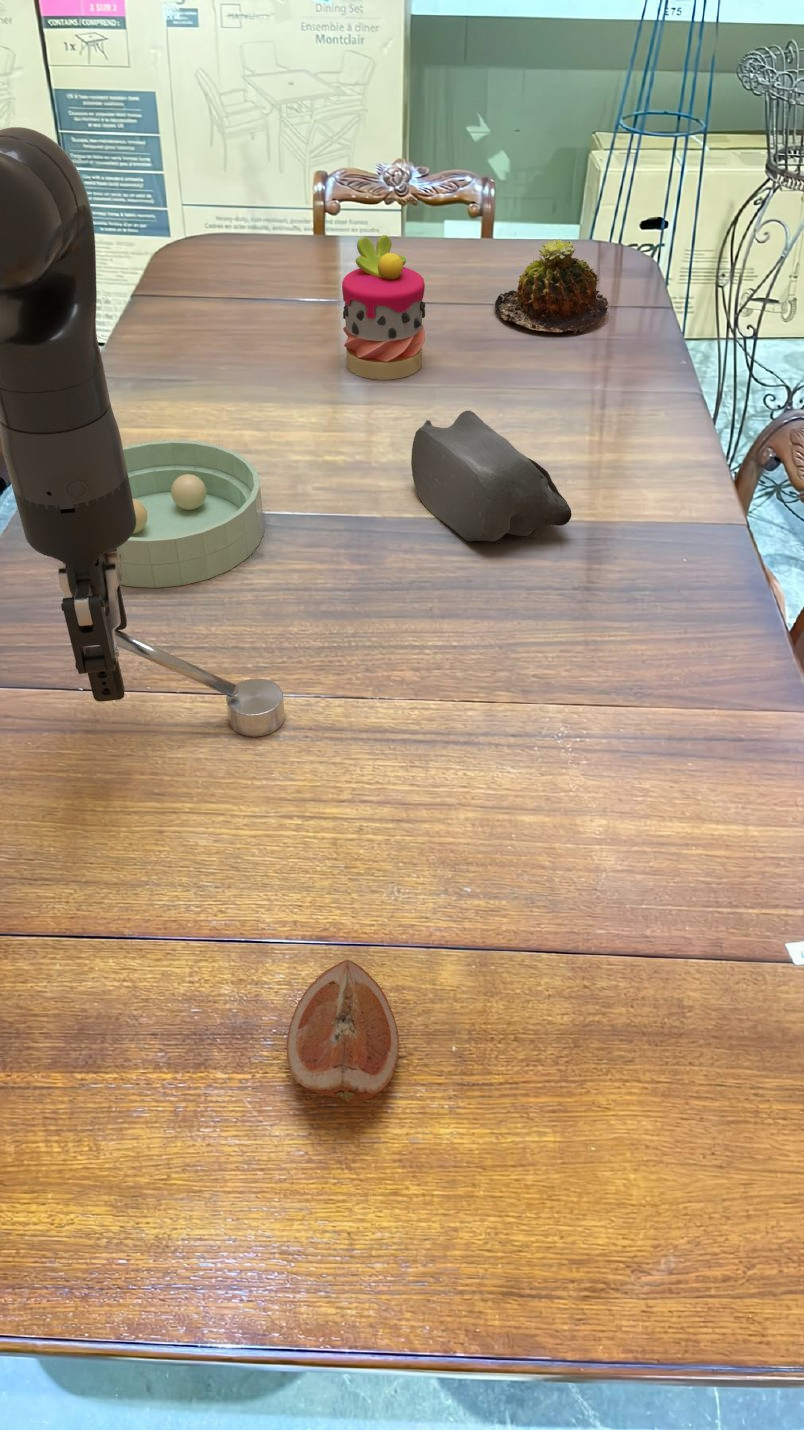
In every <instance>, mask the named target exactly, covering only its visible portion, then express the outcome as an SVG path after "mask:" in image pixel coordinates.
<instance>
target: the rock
mask: <svg viewBox="0 0 804 1430" xmlns="http://www.w3.org/2000/svg"><path fill="white" fill-rule="evenodd" d="M411 446H412V447H411V459H410V460H411V461H410V466H411V474H412V481H413V484H414V488H415V490H416V493H417V495H418V497H419V499H420V501H421V503H422V504H423V506H424V507H426V509H427V510H428V511H429V513H431V514H432V515H433V516H434V517H436V518H437V519H439V520H440V521H441V522H443V523H444V524H445V525H446V526H448V527H449V528H450V529H452V530H454V532H455V533H457V535H459V536H460V537H461V538H462V539H464V540H465V541H466V542H475V541H477V542H478V541H480V542H481V541H487V542H497V541H498V540H500V539H501V538H502V537H504V536H505V535H506V534H509V535H513V536H518V537H524V536H525V537H526V536H527V537H528V536H530V535H531V534H532V533H533V532H534V531H535V530H536V529H539V528H542V527H546V526H555V527H563V526H565V525H567V524H568V523H569V522H570V520H571V519H572V510H571V507H570V505H569V503H568V502H567V500H566V499H565V497H564V496H563V495H562V494H561V492H560V491H559V490H558V488H557V486H556V485H555V482H553V480H552V478H551V475H550V473H549V472H548V471H547V469H545V468H544V467H543V466H541V465H540V464H539V463H538V462H537V461H535V460H533V459H531V458H530V457H528V456H526V455H525V454H523V453H522V452H520V451H519V450H518V449H517V448H516V447H514V445H513V444H512V443H511V442H510V441H509V440H508V439H507V438H505V436H502V435H500V434H499V433H497V431H495V430H494V429H493V428H491V426H489V425H488V424H487V423H486V422H484V421H483V420H482V419H481V418H480V417H479V416H478V414H476V413H475V412H474V411H472V410H464V411H463V412H461V413H459V415H458V416H457V417H456V418H455V420H454V422H453V423H452V424H451V425H449V426H448V427H440V426H434V425H433V424H432V421H431V420H430V419H428V420H427V419H426V420H425V422H424V423H423V425H421V426H420V427H419V428H418V429H417V430H416V431H415V434H414V437H413V440H412V445H411Z"/></svg>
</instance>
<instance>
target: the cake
mask: <svg viewBox="0 0 804 1430" xmlns="http://www.w3.org/2000/svg"><path fill="white" fill-rule="evenodd" d="M392 245H393V243H392V240H391V238H390V237H389V236H388V235H386V234H382V235H380V236H379V237H378V239H377V242H376V245H374V243H373V242H372V241H371V239H370V238H369V237H365V236H364V237H360V238H359V239H358V240H357V242H356V248H357V251H358V253H359V256H357V257H356V259H355V264H356V265H357V267H358V268H356V269H354V270H351V271H350V272H348V273H347V274H346V275H344V278H343V279H342V282H341V287H342V288H341V291H342V300H343V302H344V306H343V311H342V319H343V320H345V321H344V322H345V323H344V324H345V326H344V327H343V328H342V331H343V332H344V333H345V335H346V336H347V338H346V340H345V342H344V344H343V347H345V348H346V349H345V351H346V352H345V353H346V367H347V369H348V370H349V372H351V373H353V375H356V376H358V377H362V378H365V379H371V380H378V381H386V380H388V381H389V380H390V381H391V380H398V379H404V378H406V377H410V376H412V375H414V374H415V373H417V372H418V371H419V370H420V369H421V368H422V366H423V365H422V361H423V360H422V359H423V358H422V357H423V356H422V355H423V346H424V344H425V342H426V331H425V328H424V325H423V319H425V317H426V303H425V302H424V301H423V300H424V296H425V289H426V287H425V286H426V285H425V284H426V283H425V280H424V278H423V276H422V275H421V274H420V273H418V272H417V271H415V270H413V269H411V268H409V267H405V265H406V263H407V258H406V257H405V256H404V255H402V254H397V253H394V252H391V250H392Z"/></svg>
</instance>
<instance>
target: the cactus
mask: <svg viewBox="0 0 804 1430" xmlns="http://www.w3.org/2000/svg"><path fill="white" fill-rule="evenodd" d="M574 246H575V244H574V243H573V242H572V241H569V240H568V241H567V240H566V241H563V240H561V238H559V239H558V240H557V239H554V240H553V241H552V240H549V241H548V242H547V243H545V244H543V243H542V245H541V247H542V248H541V249H539V251H538V252H539V256H538V258H539V259H536V260H535V259H534V258H533V259H532V260H533V263H532V262H530V263H529V265H527V266H526V268H525V269H524V271H523V273H522V274H521V275H519V277H518V278H519V280H518V282H517V283H518V286H517V289H516V290H509V291H508V292H503V293H500V294H499V295H498V296H497V298H496V299H495V302H494V308H495V310H496V311H495V312H496V313H497V315H498V316H499V317H500V318H501V319H503V320H504V321H509V322H514V323H515V324H517V325H520V326H521V327H525V328H527V329H529V330H533V331H542V332H547V333H567V332H568V331H569V332H573V334H574V335H575V334H576V333H577V332H578V331H579V332H584V331H585V330H587V329H588V328H589V327H591V326H592V325H594V324H596V323H597V322H600V320H602V319H604V317H605V316H606V314H607V311H608V309H609V305H610V304H609V301H608V299H607V297H606V296H603V294H600V291H601V290H597V285H598V282H599V281H600V279H599V278H598V275H597V274H596V272H595V271H594V268H591V267H590V265H589V264H588V262H587V261H585V259H581V260H580V259H579V258H578V257H572V256H573V254H574V253H575V252H576V247H574ZM542 257H543V258H542Z"/></svg>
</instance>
